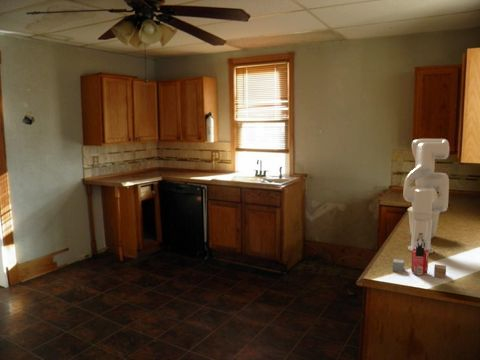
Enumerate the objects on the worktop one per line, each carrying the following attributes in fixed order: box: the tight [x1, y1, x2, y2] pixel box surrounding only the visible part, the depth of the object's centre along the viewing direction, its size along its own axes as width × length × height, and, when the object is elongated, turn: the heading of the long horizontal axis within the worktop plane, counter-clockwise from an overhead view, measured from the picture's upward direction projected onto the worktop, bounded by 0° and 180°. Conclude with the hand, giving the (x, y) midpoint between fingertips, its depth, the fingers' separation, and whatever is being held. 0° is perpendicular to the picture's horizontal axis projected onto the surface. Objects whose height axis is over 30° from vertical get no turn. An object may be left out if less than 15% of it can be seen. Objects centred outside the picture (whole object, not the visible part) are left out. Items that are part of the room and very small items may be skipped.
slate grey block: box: [392, 258, 405, 274], centre depth 189 cm, size 5×5×5 cm
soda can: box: [410, 246, 430, 276], centre depth 184 cm, size 7×7×12 cm
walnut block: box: [433, 263, 447, 280], centre depth 181 cm, size 5×5×5 cm
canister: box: [407, 206, 441, 239], centre depth 242 cm, size 18×18×21 cm
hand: (420, 253), depth 183 cm, fingers open, 9 cm apart
